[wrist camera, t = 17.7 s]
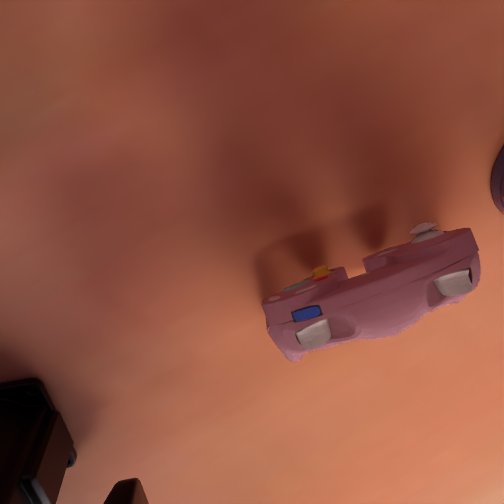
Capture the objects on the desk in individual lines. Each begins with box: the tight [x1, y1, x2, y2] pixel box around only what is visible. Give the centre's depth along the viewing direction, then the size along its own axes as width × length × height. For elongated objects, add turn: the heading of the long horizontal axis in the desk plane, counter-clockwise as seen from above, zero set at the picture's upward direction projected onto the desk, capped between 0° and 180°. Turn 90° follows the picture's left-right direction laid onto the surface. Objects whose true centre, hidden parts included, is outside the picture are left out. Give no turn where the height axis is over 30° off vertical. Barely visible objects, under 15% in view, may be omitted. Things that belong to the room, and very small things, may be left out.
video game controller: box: [262, 222, 480, 362], centre depth 20 cm, size 10×5×7 cm, turn 110°
